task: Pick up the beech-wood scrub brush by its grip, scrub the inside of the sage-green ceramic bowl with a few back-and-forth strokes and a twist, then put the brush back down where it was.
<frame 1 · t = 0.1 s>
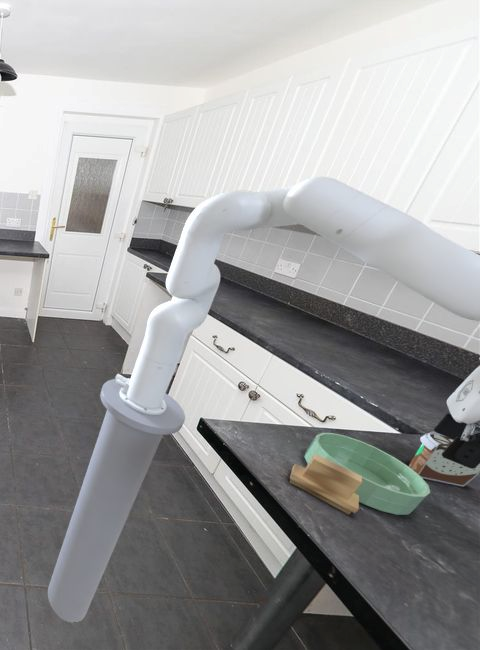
hand: (451, 448, 56), 21 cm above the table, tool pointing down, fingers open, 9 cm apart
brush: (318, 492, 71), on the table
bowl: (353, 480, 75), on the table
food container: (425, 471, 80), on the table
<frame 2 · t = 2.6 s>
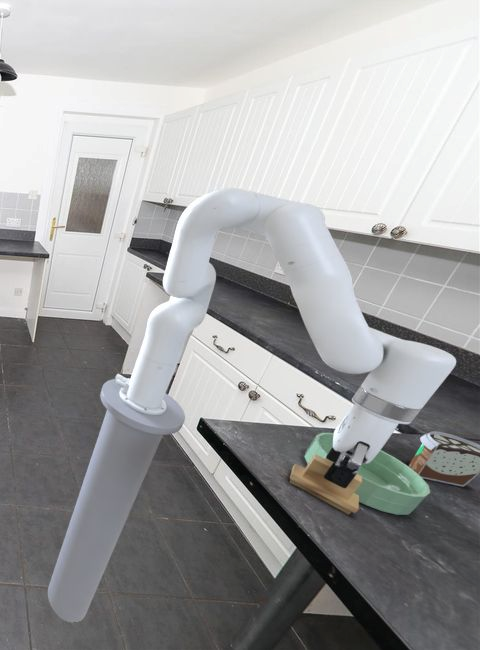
hand: (335, 471, 69), 6 cm above the table, tool pointing down, fingers open, 7 cm apart
nothing on the table moved.
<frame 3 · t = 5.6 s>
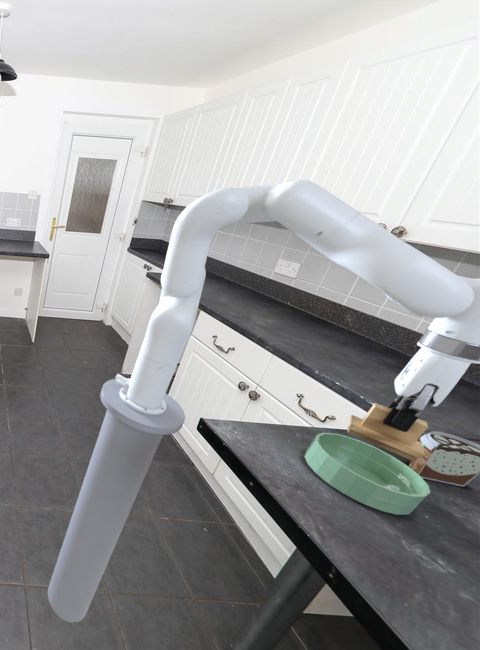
hand: (394, 423, 68), 17 cm above the table, tool pointing down, fingers closed on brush, 2 cm apart
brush: (378, 442, 70), point 12 cm above the table, touching gripper
everything else where it was.
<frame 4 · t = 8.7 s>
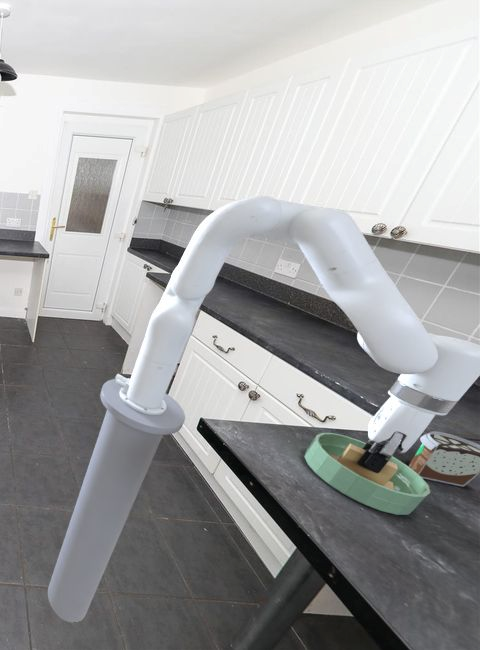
hand: (367, 464, 72), 6 cm above the table, tool pointing down, fingers closed on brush, 2 cm apart
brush: (353, 480, 74), point 1 cm above the table, touching gripper
everything else where it was.
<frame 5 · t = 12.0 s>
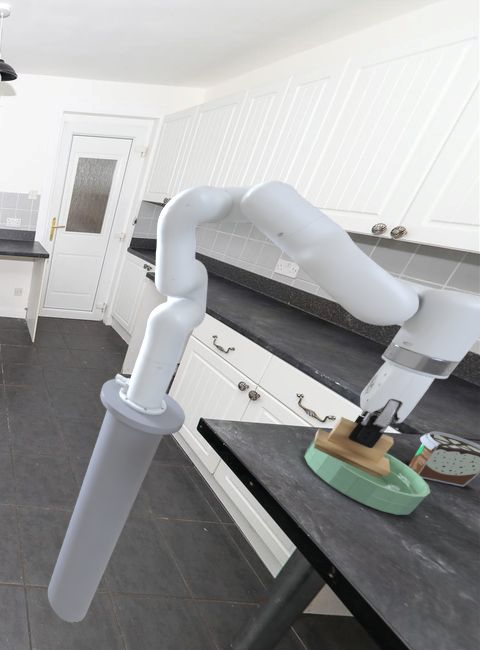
hand: (360, 438, 65), 15 cm above the table, tool pointing down, fingers closed on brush, 2 cm apart
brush: (345, 457, 67), point 10 cm above the table, touching gripper
everything else where it was.
when the fingers open (5 cm above the table, at t = 14.4 s): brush stays where it is, on the table.
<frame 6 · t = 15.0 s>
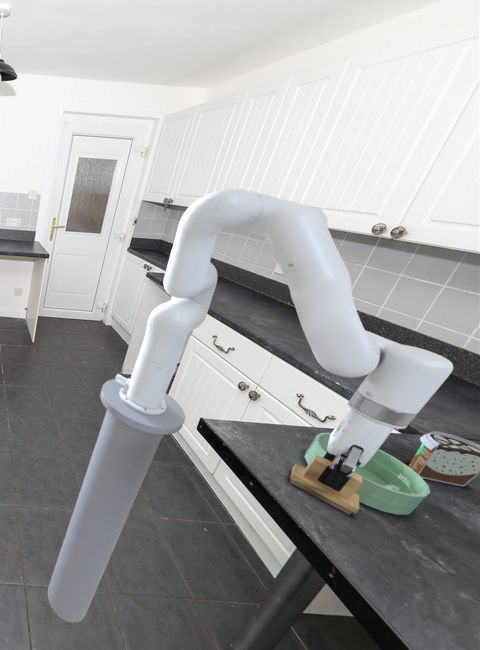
hand: (330, 474, 69), 6 cm above the table, tool pointing down, fingers open, 8 cm apart
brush: (319, 492, 71), on the table
everything else where it was.
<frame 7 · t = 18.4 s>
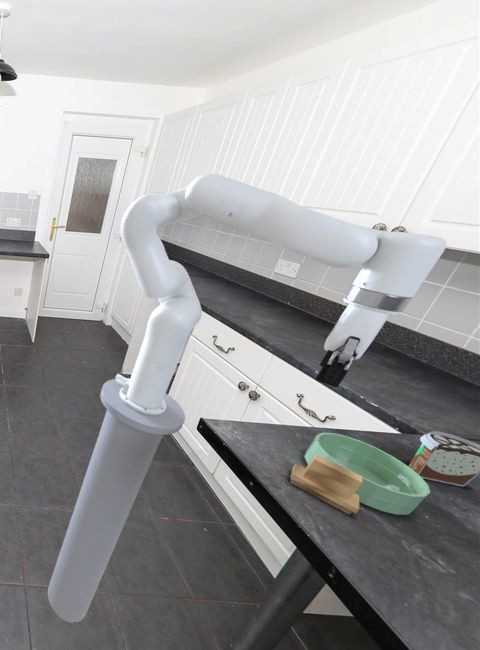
hand: (327, 375, 69), 24 cm above the table, tool pointing down, fingers open, 9 cm apart
nothing on the table moved.
at the end: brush inside the target area (0.1 cm from its centre), on the table; the gripper is holding nothing; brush tilted 0° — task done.
